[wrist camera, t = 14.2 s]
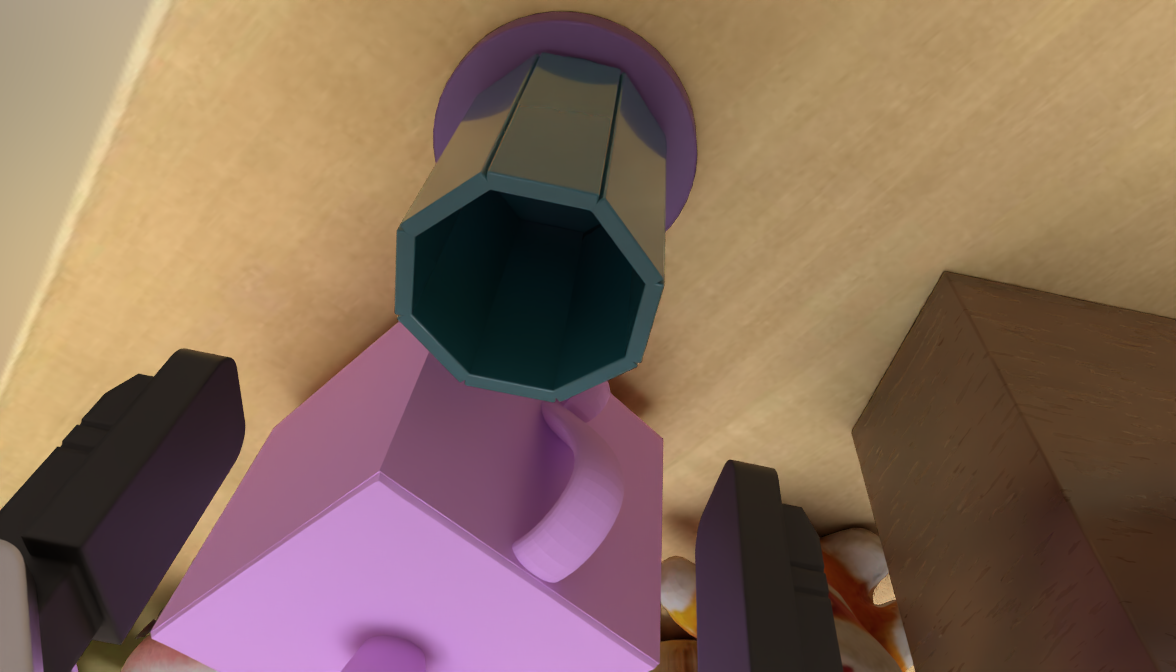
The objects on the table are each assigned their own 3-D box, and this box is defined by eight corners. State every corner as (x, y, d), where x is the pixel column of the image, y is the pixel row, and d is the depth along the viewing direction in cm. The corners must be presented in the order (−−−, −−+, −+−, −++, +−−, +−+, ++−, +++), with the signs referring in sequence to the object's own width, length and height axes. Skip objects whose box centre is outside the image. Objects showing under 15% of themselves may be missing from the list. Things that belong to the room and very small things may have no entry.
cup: (483, 32, 20) (398, 152, 14) (682, 75, 21) (686, 212, 14) (466, 210, 24) (392, 371, 17) (637, 246, 24) (624, 417, 18)
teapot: (525, 198, 24) (423, 492, 15) (714, 380, 28) (736, 709, 19) (223, 457, 34) (36, 744, 24) (397, 567, 38) (299, 852, 28)
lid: (449, -18, 21) (440, -9, 20) (729, 44, 21) (731, 55, 20) (433, 229, 26) (426, 244, 25) (661, 276, 26) (660, 292, 25)
